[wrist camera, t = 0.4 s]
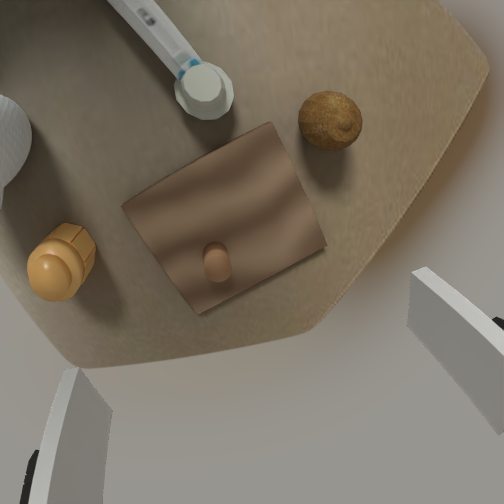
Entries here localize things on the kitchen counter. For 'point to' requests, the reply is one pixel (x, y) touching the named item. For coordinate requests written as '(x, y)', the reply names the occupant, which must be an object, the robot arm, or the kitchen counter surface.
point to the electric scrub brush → (179, 60)
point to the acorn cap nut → (61, 262)
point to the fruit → (330, 120)
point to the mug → (12, 141)
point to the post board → (227, 219)
